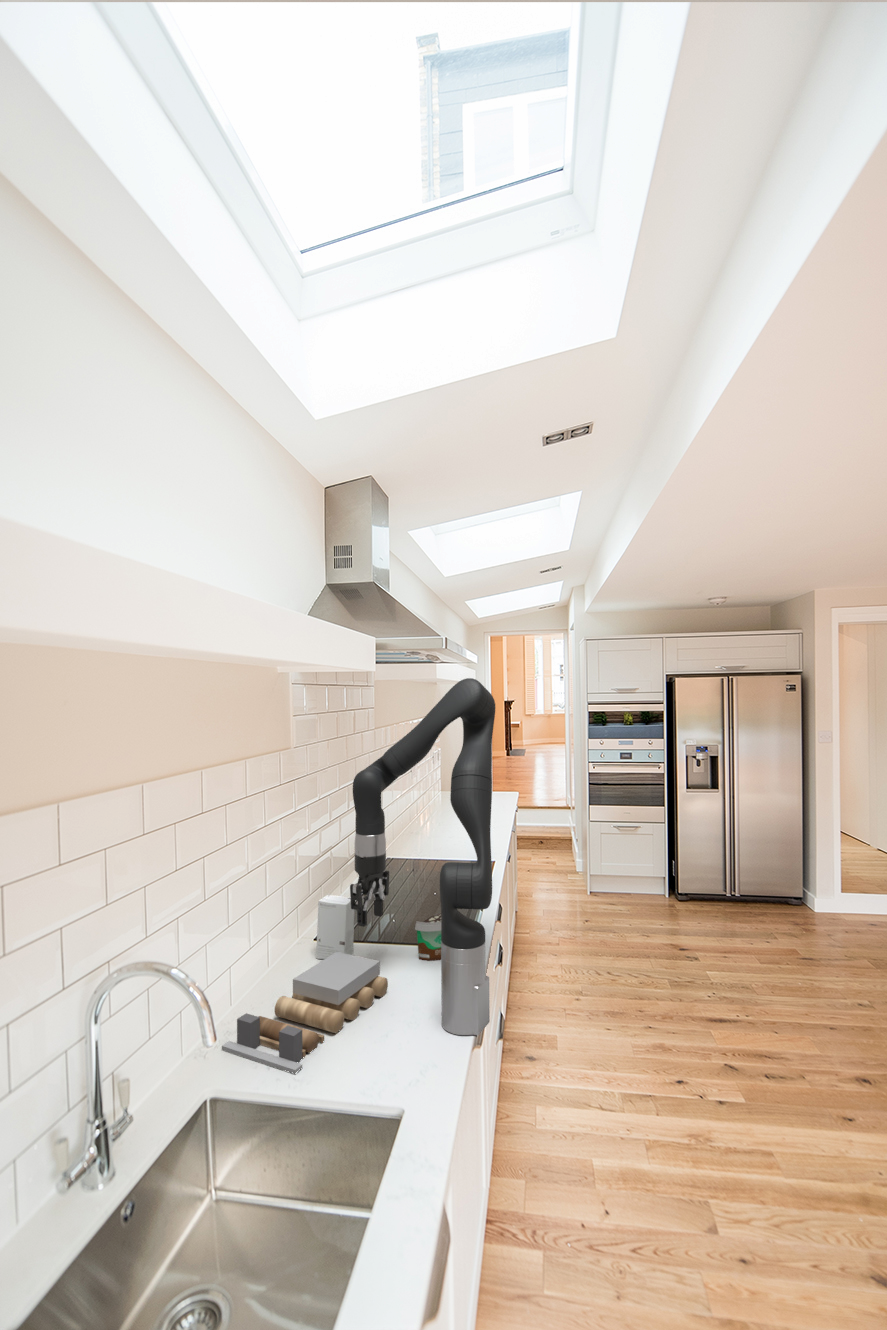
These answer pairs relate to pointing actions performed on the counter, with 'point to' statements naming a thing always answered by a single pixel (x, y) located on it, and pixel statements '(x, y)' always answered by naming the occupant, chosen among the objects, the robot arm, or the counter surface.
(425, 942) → the food container
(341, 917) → the skincare box
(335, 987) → the slab
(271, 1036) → the roller
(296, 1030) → the bumper posts
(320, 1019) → the roller bed
